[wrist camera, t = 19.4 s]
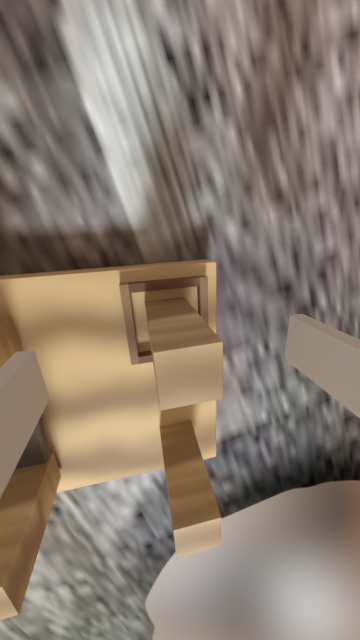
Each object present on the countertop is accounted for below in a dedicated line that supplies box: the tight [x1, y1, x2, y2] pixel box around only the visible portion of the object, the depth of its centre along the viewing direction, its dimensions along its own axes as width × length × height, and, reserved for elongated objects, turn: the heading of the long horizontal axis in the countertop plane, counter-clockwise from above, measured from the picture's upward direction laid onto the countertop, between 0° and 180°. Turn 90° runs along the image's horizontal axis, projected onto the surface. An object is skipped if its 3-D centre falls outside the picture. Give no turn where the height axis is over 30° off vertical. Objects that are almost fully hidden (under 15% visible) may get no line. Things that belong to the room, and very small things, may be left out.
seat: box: [0, 259, 221, 558], centre depth 16 cm, size 20×20×10 cm
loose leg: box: [145, 297, 223, 411], centre depth 14 cm, size 3×3×8 cm
